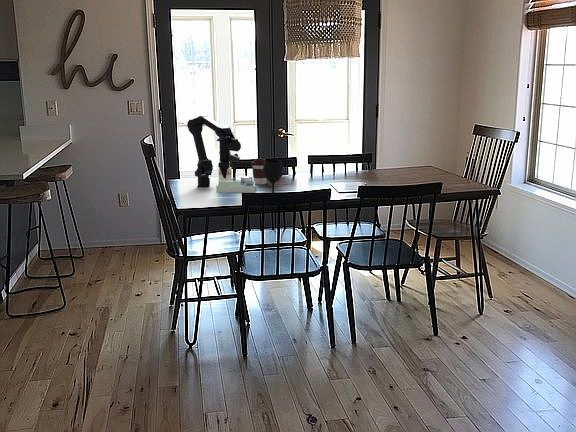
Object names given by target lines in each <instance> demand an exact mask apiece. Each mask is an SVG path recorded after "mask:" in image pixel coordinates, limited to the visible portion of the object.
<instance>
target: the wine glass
mask: <svg viewBox="0 0 576 432" xmlns="http://www.w3.org/2000/svg"><path fill="white" fill-rule="evenodd" d="M283 171H284V167H283V161H282V160H279V159H267V160H266V161H265V162H264V166H263V173H264V176H265V178H266V181H268V182H269V183H270V184H271V187H272V188H271V194H272V193H274V194H275V184H276V183H277V182H278V181H279V180H280V179H281V178H282V176H283V174H284V172H283Z"/></svg>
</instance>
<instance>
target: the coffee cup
mask: <svg viewBox="0 0 576 432" xmlns="http://www.w3.org/2000/svg"><path fill="white" fill-rule="evenodd" d="M265 161H266V159H265V158H254V159H253V161H250V162H251V166H252V168H251V169H252V179H253V181H255V185H266V184H267V179H266V178H265V176H264V173H263V166H264V162H265Z"/></svg>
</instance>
